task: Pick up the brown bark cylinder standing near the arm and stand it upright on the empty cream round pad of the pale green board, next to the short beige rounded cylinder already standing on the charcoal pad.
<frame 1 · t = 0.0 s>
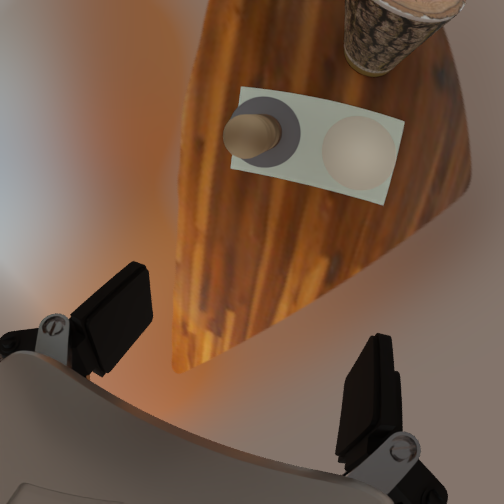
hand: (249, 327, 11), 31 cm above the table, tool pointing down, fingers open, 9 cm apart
cream pad: (358, 152, 34), resting on board
board: (315, 141, 36), on the table
brown bark cylinder: (369, 54, 28), on the table
beige rounded cylinder: (263, 132, 36), point 1 cm above the table, touching board
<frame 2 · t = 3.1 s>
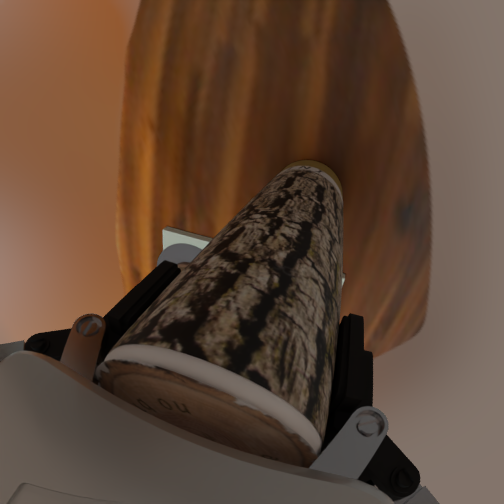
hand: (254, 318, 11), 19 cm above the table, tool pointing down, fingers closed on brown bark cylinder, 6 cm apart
board: (244, 290, 36), on the table
brown bark cylinder: (309, 191, 28), on the table, touching gripper
when the fingers open (21 cm above the table, at t = 8.2 s): brown bark cylinder stays where it is, resting on cream pad.
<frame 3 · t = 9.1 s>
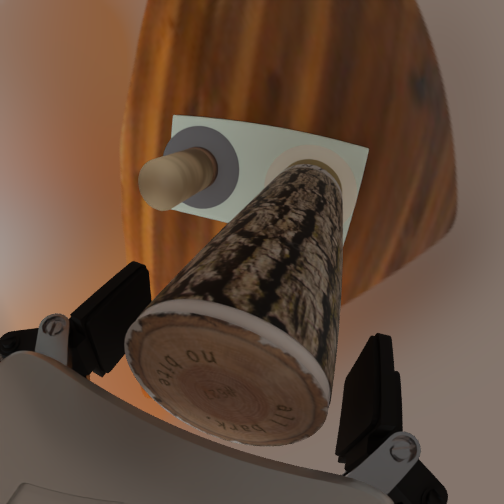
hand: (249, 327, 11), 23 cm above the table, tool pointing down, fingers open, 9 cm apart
cream pad: (311, 189, 30), resting on board
board: (258, 177, 31), on the table
brown bark cylinder: (310, 189, 29), point 1 cm above the table, touching cream pad
beige rounded cylinder: (197, 168, 32), point 1 cm above the table, touching board
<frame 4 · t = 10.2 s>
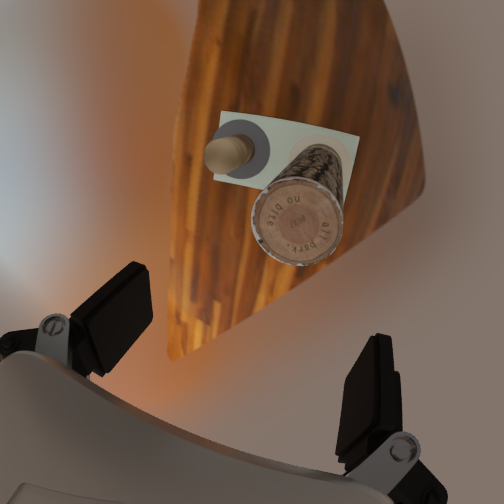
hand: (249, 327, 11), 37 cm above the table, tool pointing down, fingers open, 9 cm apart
cream pad: (320, 164, 43), resting on board
board: (283, 156, 44), on the table
brown bark cylinder: (320, 164, 42), point 1 cm above the table, touching cream pad
beige rounded cylinder: (239, 149, 44), point 1 cm above the table, touching board
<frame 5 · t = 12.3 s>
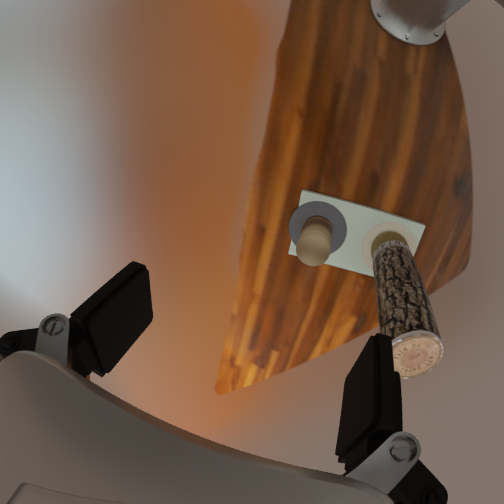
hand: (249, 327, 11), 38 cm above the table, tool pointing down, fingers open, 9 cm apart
cream pad: (388, 246, 46), resting on board
board: (356, 237, 47), on the table
brown bark cylinder: (389, 247, 45), point 1 cm above the table, touching cream pad
beige rounded cylinder: (317, 229, 48), point 1 cm above the table, touching board
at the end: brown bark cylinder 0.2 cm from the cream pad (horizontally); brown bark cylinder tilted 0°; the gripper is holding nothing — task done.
